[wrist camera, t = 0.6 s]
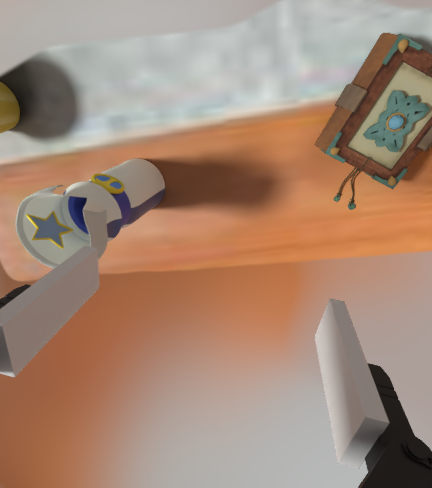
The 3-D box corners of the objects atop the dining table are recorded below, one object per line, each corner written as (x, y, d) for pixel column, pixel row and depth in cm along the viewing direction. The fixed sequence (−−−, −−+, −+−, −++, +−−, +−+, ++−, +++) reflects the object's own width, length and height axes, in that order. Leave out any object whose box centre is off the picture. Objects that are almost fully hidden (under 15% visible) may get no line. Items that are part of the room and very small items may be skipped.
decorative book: (289, 177, 40) (291, 186, 35) (375, 33, 32) (392, 21, 28) (374, 221, 40) (387, 235, 36) (479, 91, 33) (512, 88, 28)
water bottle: (121, 143, 41) (-53, 185, 19) (175, 172, 42) (65, 247, 20) (105, 192, 45) (-57, 276, 23) (154, 219, 46) (43, 327, 23)
